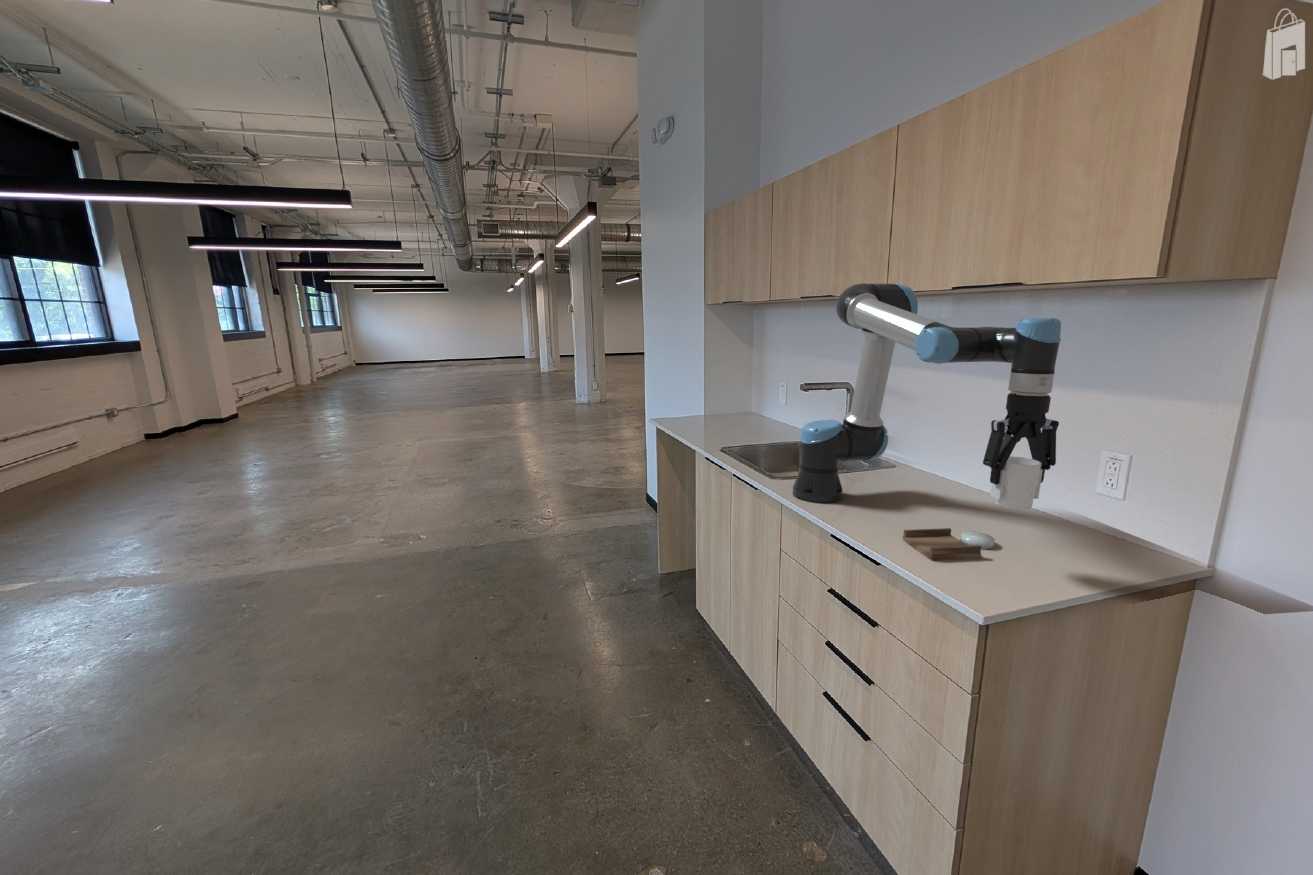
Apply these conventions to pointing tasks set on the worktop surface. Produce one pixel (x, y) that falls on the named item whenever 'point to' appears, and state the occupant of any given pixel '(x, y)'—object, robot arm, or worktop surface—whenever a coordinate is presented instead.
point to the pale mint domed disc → (978, 539)
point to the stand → (940, 544)
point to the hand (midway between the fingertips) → (1014, 497)
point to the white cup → (1020, 483)
